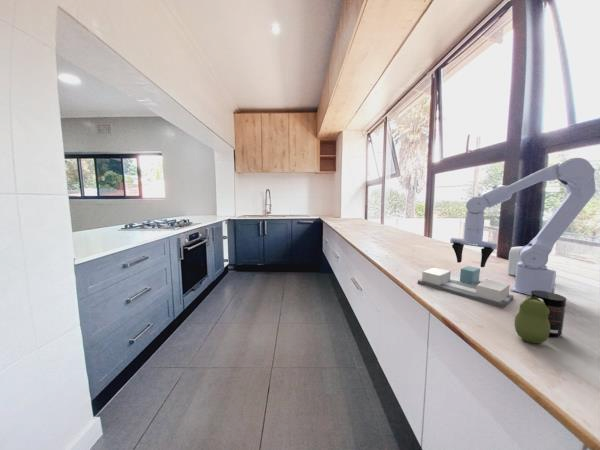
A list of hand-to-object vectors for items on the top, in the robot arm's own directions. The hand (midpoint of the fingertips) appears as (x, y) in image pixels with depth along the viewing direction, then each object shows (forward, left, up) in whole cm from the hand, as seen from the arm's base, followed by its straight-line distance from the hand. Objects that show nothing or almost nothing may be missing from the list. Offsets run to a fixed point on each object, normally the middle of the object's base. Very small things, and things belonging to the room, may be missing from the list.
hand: (470, 264), depth 90 cm
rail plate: (-2, +13, -7) cm, 15 cm away
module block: (0, 0, -7) cm, 7 cm away
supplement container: (-24, +26, -7) cm, 36 cm away
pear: (-23, +34, -7) cm, 42 cm away
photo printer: (-11, -24, -7) cm, 27 cm away
